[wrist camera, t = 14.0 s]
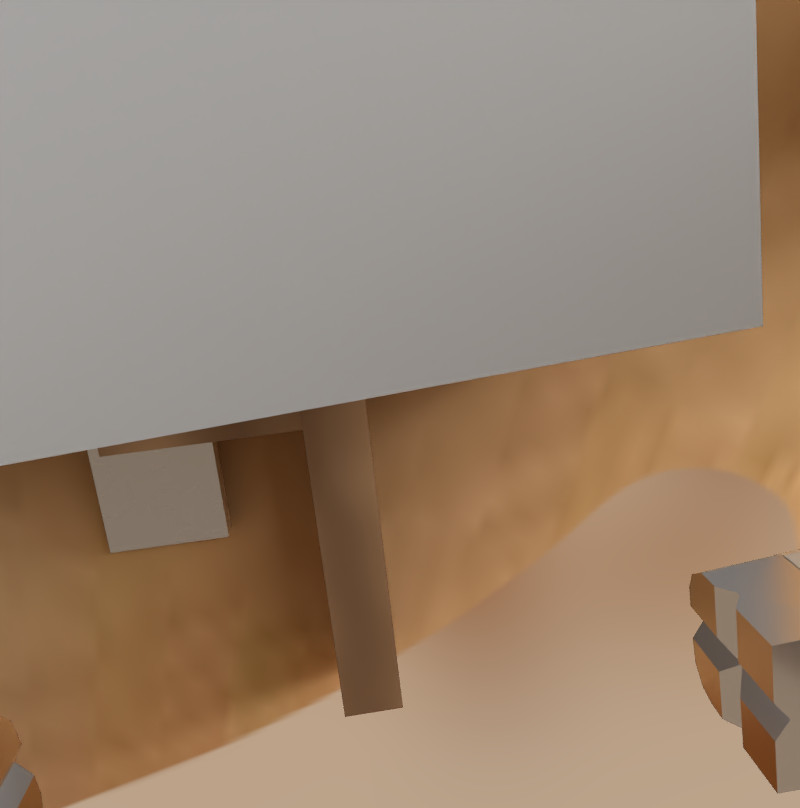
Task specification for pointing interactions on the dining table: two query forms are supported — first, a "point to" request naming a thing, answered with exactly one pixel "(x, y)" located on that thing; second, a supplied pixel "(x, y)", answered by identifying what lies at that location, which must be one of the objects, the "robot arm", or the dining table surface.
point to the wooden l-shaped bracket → (334, 539)
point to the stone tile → (161, 496)
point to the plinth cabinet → (357, 200)
